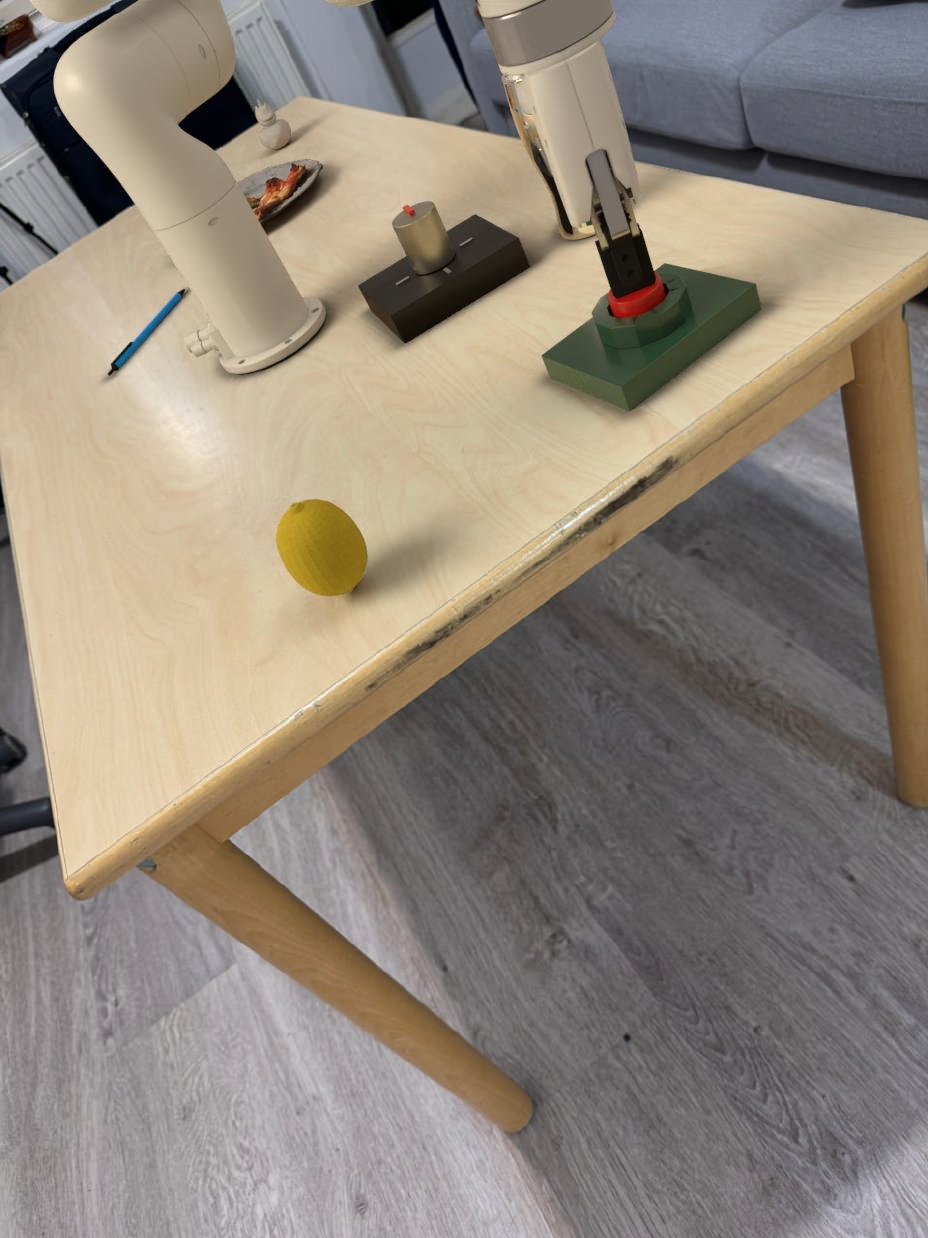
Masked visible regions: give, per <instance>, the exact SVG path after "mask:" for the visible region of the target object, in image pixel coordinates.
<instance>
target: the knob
mask: <svg viewBox="0 0 928 1238" xmlns="http://www.w3.org/2000/svg"><path fill="white" fill-rule="evenodd" d="M391 226H392V229H393V230H394V233H395V235H396V237H397V239H398V241H399V243H400V245H401V248H402V249H403V252H404V255H405V256H407V258H408V260H409V262H410V264H411V266H412V269H413V271H414V272H415V273H416V274H418V275H424V274H428V273H432V272H434V271H436V270H438V269H440V268H442V267H444V266H445V265H447V264H448V263H449V262H450V261H451V260H452V259H453V258H454V256H455V250H454V248H453V245H452V243H451V241H450V238H449V236H448V234H447V232H446V231H447V230H446V227H445V225H444V222H443V220H442V218H441V215H440V213H439V211H438V209H437V207H436V204H435V202H433V201H430V200H426V201H425V200H424V201H421V202H417V203H415V204H413V205H411V206H410V205H409V204H406V205H404V206H402V211H401V212H400V213H398V214H397V215H396V216H394V218H393V219H392V222H391Z"/></svg>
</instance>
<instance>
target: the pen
mask: <svg viewBox="0 0 928 1238" xmlns="http://www.w3.org/2000/svg"><path fill="white" fill-rule="evenodd" d="M185 292H186V288H183V289H181V290H179V291H178V292H176V293H175V294H174V295H173V296H172V297H171V298H170V300H169V301H168V302H167V303H166V304H165V305H164V306H163V307H162V308H161V310H160V311H159V312H158V313H157V314H156V315H155V316H154V317H153V318H152V319H151V321H150V322H149V323H148V324H147V325H146V326H145V328H144V329H143V330H142V331H141V332H140V333H139V335H137V337H136V338H135V339H134V340H133V341H129V342H128V343H127V345H126V346H125V347H124V348H123V349H122V350H121V352H120V353H119V354H118V355H117V356H116V357H115V358H114V360H112V361H111V363H110V368H111V369H110V370H109V371H108V372H107V375H108V376H109V377H111V375H112V374H113V373H114V372H117V371H119V370H120V369H121V368H122V366H123V365H124V364H125V363H126V362H127V361H128V360H129V358H131V357H132V355H133V354H134V353H135V352H136V351H137V349H138V348H140V346H141V345H143V343H144V341H145V340H147V338H148V337H149V336H150V335H151V334H152V333H153V331H154V330H155V329H156V328H157V327H158V326H159V325H160V324H161V322H162V321H163V320H164V319H165V318H166V317H167V316H168V314H169V313H170V312H171V311H172V310H173V309H174V308H175V306H176V305H177V304H178V303H179V302H181V300H182V298H183V296H184V294H185Z"/></svg>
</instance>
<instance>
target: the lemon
mask: <svg viewBox="0 0 928 1238" xmlns="http://www.w3.org/2000/svg"><path fill="white" fill-rule="evenodd" d="M275 533H276V534H275V540H276V546H277V547H276V548H277V551H278V554H279V557H280V559H281V561H282V564H283V565H284V567H285V569H286V571H287V572H288V573H289V574H290V576H291V577H292V579H293V580H294V581H295V582H296V583H297V584H298V585H300V586H301V588H303V589H304V590H306V591H309V592H311V593H312V594H315V595H318V596H322V597H335V596H340V595H344V594H346V593H351V592H353V591H354V589H355V587H356V586H357V585H358V584H359V583H360V581H361V580H362V579H363V576H364V575H365V573H366V570H367V566H368V560H369V556H368V555H369V554H368V547H367V543H366V540H365V537H364V536H363V533H362V531H361V530H360V529H359V527H358V526H357V524H356V522H355V521H354V520H353V518H352V517H351V516H350V515H349V514H348V513H346V512H345V510H343V508H341V507H339V506H337V505H336V504H335V503H333V502H330V501H329V500H324V499H320V498H319V499H318V498H309V499H303V500H301V501H294V502H292V503H291V504H290V505H289V507H288V509H286V511H285V512H284V514H283V515H282V516H281V518H280V520H279V522H278V524H277V529H276V532H275Z"/></svg>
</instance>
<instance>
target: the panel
mask: <svg viewBox="0 0 928 1238" xmlns="http://www.w3.org/2000/svg"><path fill="white" fill-rule="evenodd" d="M446 232H447V234H448V236H449V238H450V241H451V243H452V245H453V248H454V250H455V256H454V258H453V259H452V260H451V261H450V262H449V263H448V264H447V265H445V266H444V267H442V268H440V269H438V270H436V271H434V272H432V273H428V274H424V275H418V274H416V273H415V272H414V271H413V269H412V266H411V264H410V262H409V260H408V258H407V256H406V255H405V256H404V257H402V258H400V259H399V260H397V261H396V262H394V263H392V264H391V265H389V266H387V267H386V268H383V270H381V271H379V272H378V273H376V274H374V275H372V276H371V277H369V278H368V279H366V280H364V281H362V282H361V283H359V284H357V287H358V289H359V291H360V293H361V295H362V296H363V298H364V300H365V302H366V305H367V306H368V308H369V310H370V311H371V312H372V314H374V315H375V316H376V317H377V318H378V319H379V320H380V321H381V322H382V323H383V324H384V325H385V326H386V327H387V328H388V329H389V330H390V331H391V332H392V333H393V334H394V335H395V336H396V337H397V338H399V340H401V342H402V343H403V344H406V343H408V342H410V341H411V340H413V339H414V338H416V337H418V336H419V335H420V334H422V333H424V332H426V331H427V330H429V329H430V328H433V327H434V326H436V325H437V324H439V323H440V322H442V321H443V320H445V319H447V318H449V317H450V316H452V315H454V314H455V313H457V312H458V311H460V310H461V309H463V308H465V307H467V306H468V305H470V304H471V303H473V302H475V301H476V300H478V299H479V298H481V297H483V296H485V295H486V294H488V293H489V292H491V291H492V290H494V289H496V288H497V287H500V286H501V285H503V284H504V283H506V282H508V281H509V280H511V279H512V278H514V277H516V276H517V275H518V274H521V273H522V272H524V271H525V270H527V269H529V268H530V267H531V265H530V263H529V260H528V257H527V255H526V252H525V249H524V247H523V244H522V242H521V239H520V237H519V236H516V235H515V234H513V233H511V232H509V231H507V230H505V229H503V228H502V227H500V226H498V225H496V224H495V223H493V222H491V221H489V220H487V219H486V218H483V217H481V216H480V215H478V214H476V213H474V214H473V215H470V217H467V218H466V219H464V220H462V221H461V222H460V223H457V224H456V225H455V226H453V227H451V228H449V229H448V230H446Z"/></svg>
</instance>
